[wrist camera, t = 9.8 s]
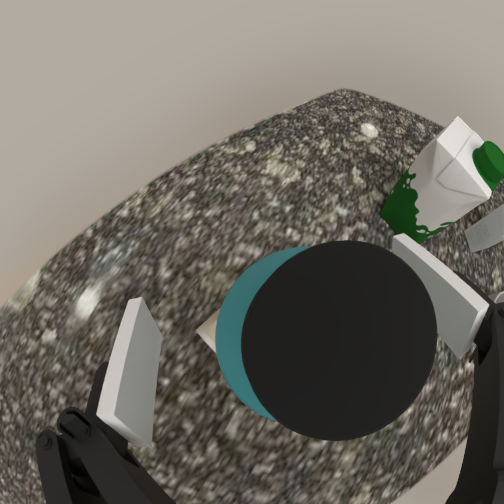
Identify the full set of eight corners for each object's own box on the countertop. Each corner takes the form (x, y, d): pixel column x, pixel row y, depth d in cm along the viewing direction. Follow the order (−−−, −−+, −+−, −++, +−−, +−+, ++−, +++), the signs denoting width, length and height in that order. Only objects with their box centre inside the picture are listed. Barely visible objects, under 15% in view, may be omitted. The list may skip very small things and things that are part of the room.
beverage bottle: (264, 284, 25) (267, 120, 5) (329, 318, 23) (507, 259, 4) (228, 348, 23) (99, 397, 4) (295, 382, 22) (393, 521, 3)
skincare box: (481, 225, 36) (522, 198, 25) (488, 247, 35) (532, 224, 23) (462, 230, 36) (506, 200, 24) (470, 253, 35) (516, 229, 23)
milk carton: (411, 257, 35) (503, 197, 16) (370, 212, 37) (438, 122, 18) (437, 222, 36) (516, 157, 17) (400, 182, 39) (462, 98, 19)
